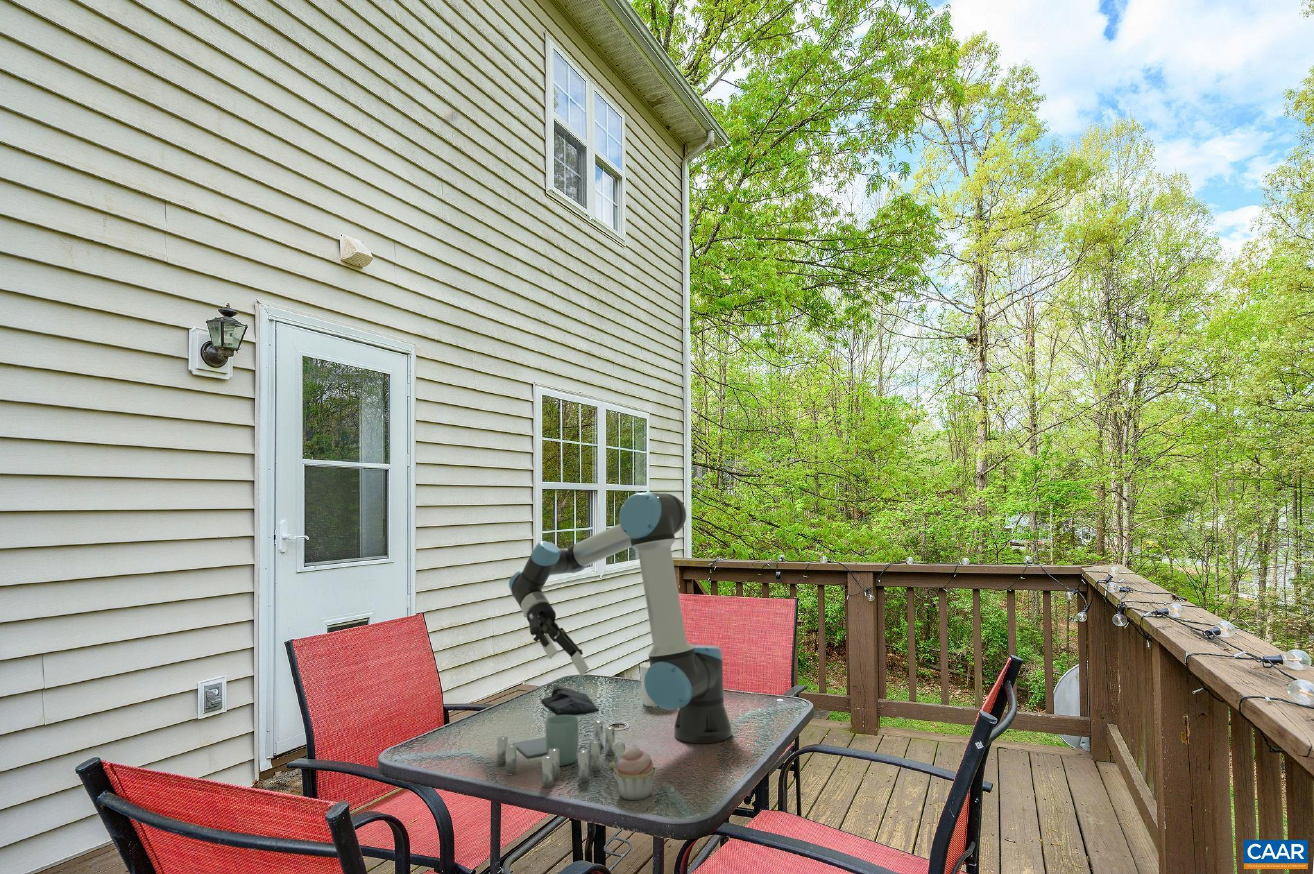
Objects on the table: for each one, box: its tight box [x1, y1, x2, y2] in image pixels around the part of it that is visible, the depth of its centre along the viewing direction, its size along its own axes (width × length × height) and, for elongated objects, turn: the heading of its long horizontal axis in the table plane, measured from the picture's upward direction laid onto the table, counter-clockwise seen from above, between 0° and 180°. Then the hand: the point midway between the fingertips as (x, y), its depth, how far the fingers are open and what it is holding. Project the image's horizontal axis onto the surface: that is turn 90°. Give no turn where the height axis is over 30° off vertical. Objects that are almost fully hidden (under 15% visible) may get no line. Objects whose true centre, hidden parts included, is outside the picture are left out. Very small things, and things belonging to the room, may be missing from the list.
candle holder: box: [639, 661, 657, 706], centre depth 214 cm, size 10×10×12 cm
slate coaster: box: [512, 736, 547, 759], centre depth 174 cm, size 12×12×1 cm
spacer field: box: [496, 719, 629, 789], centre depth 160 cm, size 22×32×6 cm
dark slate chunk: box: [541, 685, 600, 715], centre depth 214 cm, size 15×22×5 cm
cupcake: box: [612, 743, 658, 801], centre depth 142 cm, size 9×9×10 cm
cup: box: [545, 714, 580, 767], centre depth 162 cm, size 8×8×10 cm
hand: (569, 663), depth 176 cm, fingers open, 13 cm apart
